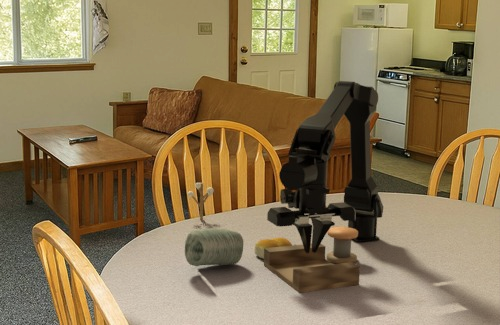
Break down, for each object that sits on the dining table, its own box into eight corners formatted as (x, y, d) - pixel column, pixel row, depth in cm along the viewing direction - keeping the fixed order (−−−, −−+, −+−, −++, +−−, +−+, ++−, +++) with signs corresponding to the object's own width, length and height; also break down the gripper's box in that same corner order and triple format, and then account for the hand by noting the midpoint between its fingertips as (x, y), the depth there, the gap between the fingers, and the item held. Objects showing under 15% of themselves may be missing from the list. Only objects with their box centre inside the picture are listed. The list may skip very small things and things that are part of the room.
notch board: (318, 259, 157) (319, 242, 156) (358, 284, 140) (359, 266, 140) (263, 265, 152) (264, 248, 151) (299, 292, 135) (299, 273, 134)
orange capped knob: (346, 253, 161) (348, 225, 160) (362, 262, 155) (363, 233, 154) (321, 256, 159) (322, 228, 158) (335, 265, 152) (337, 236, 151)
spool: (188, 268, 141) (204, 223, 141) (171, 255, 149) (187, 213, 149) (241, 282, 148) (257, 240, 148) (222, 269, 156) (237, 229, 156)
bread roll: (299, 255, 157) (299, 239, 157) (267, 262, 153) (267, 246, 152) (280, 245, 164) (280, 230, 164) (248, 252, 160) (248, 236, 159)
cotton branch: (185, 222, 187) (185, 180, 185) (205, 219, 191) (205, 177, 189) (198, 228, 181) (198, 184, 179) (218, 225, 185) (219, 182, 183)
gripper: (333, 173, 153) (330, 238, 156) (258, 177, 146) (256, 246, 149) (358, 182, 143) (355, 252, 146) (279, 187, 136) (277, 261, 139)
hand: (310, 252), depth 145 cm, fingers closed
